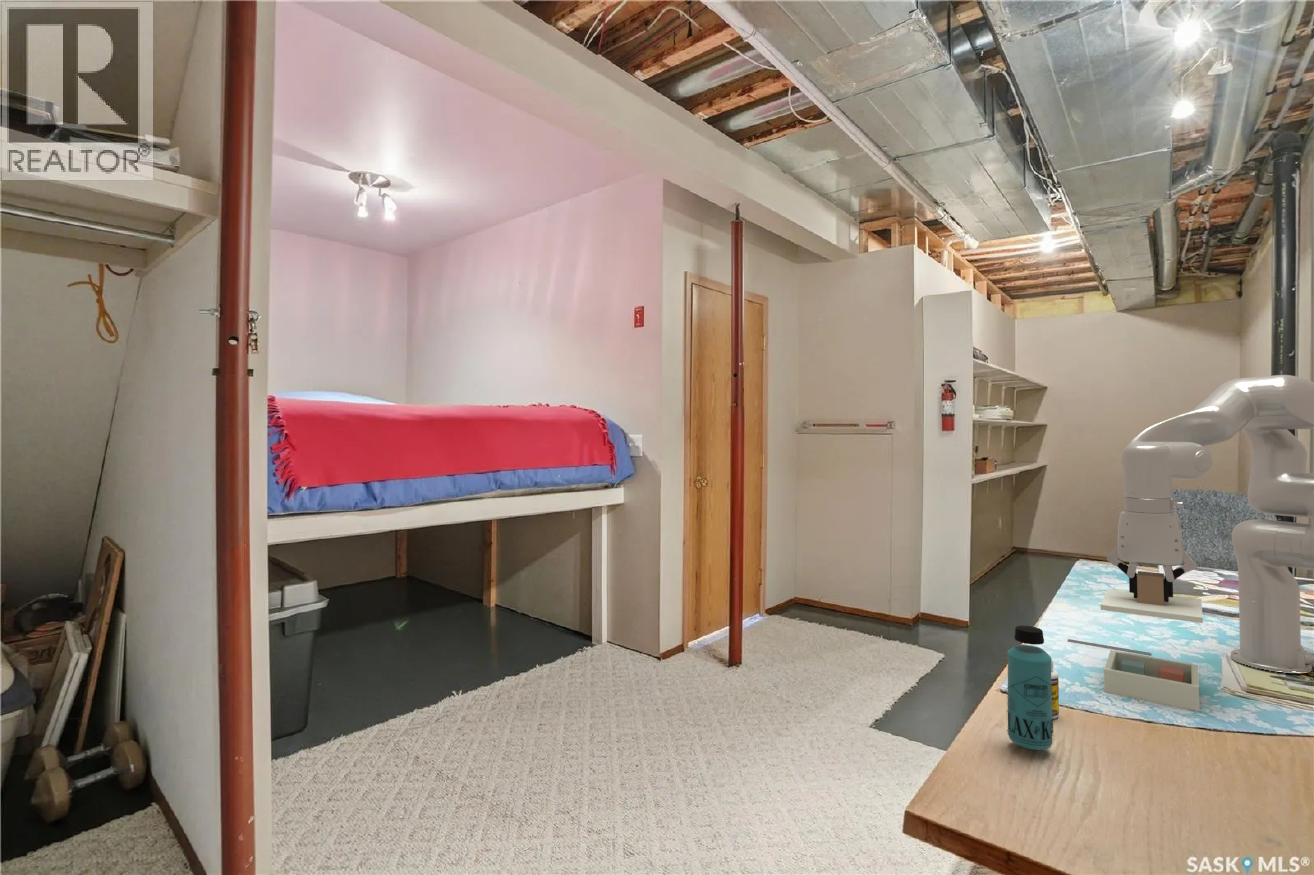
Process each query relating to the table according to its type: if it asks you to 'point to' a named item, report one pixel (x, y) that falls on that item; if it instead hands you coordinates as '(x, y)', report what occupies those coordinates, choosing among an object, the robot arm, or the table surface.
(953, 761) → the table surface
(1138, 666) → the teal block
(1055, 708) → the supplement bottle
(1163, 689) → the box
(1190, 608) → the lid
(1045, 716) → the beverage bottle
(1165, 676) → the red block
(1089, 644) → the mat
